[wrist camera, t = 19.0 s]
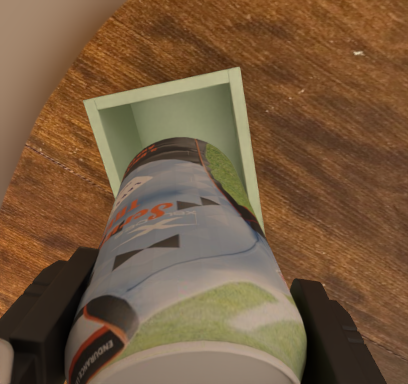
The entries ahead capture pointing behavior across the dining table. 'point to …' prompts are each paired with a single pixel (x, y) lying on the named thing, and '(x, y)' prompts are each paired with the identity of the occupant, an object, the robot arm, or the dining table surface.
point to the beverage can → (185, 282)
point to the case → (176, 123)
